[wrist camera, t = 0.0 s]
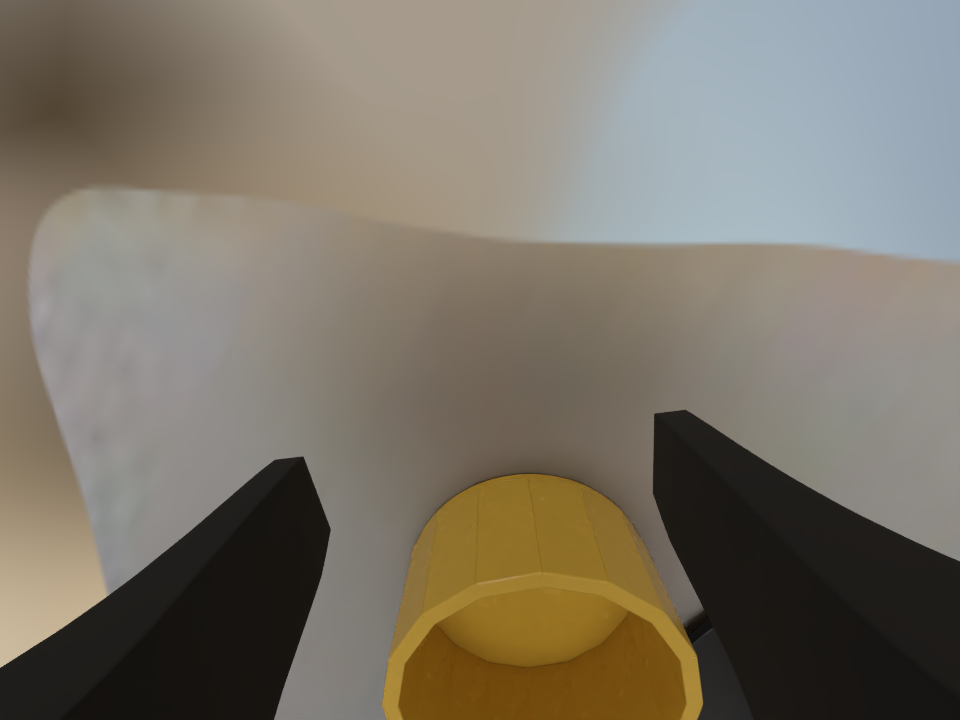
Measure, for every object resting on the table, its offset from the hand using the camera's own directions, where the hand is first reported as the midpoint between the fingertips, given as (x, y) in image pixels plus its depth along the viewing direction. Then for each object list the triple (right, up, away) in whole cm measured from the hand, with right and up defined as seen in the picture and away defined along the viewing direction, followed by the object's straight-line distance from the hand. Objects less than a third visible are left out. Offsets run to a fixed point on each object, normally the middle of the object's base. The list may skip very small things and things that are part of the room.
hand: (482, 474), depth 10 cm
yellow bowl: (+2, -8, +13) cm, 16 cm away
